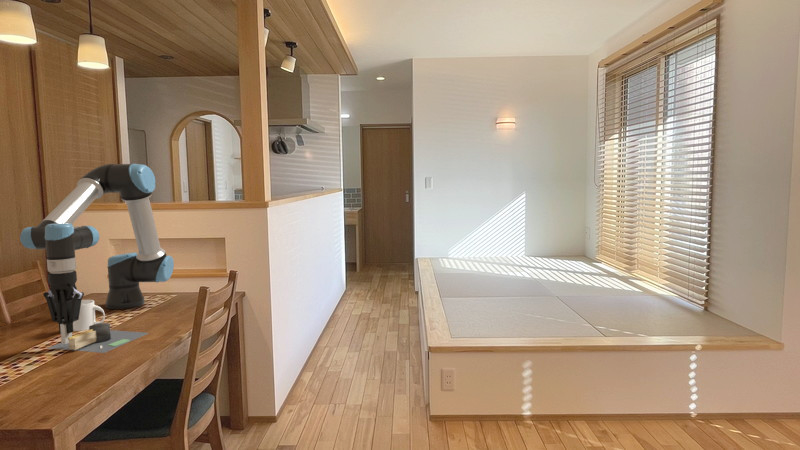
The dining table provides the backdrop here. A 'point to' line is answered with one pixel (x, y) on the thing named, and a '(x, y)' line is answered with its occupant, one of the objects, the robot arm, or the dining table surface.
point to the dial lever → (91, 336)
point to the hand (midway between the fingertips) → (67, 342)
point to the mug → (87, 316)
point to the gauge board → (102, 347)
